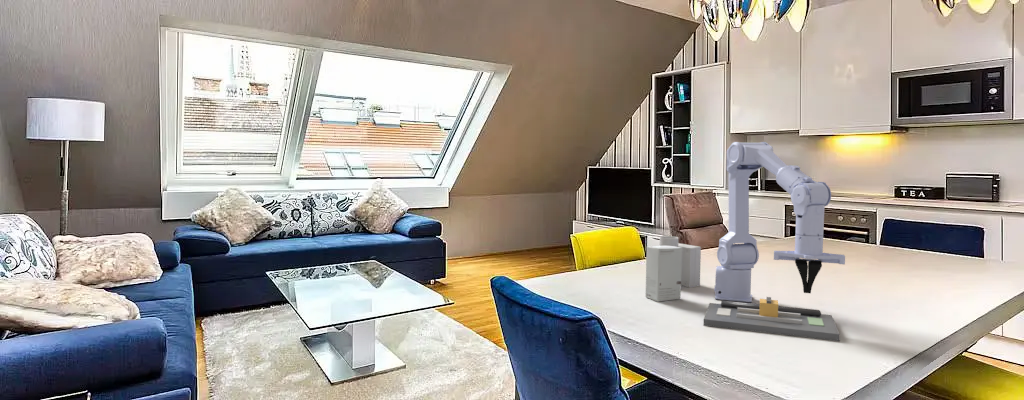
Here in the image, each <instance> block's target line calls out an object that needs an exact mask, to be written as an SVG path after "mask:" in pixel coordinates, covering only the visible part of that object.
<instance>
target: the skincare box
mask: <svg viewBox="0 0 1024 400" xmlns="http://www.w3.org/2000/svg"><path fill="white" fill-rule="evenodd" d="M681 258H682V248H680V247H675V246H660V245H649V246H648V245H647V246H646V263H645V296H644V297H645V298H648V299H650V300H652V301H655V302H665V301H674V300H680V299H681V295H682V294H681V291H682V290H681V289H682V286H681Z"/></svg>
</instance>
